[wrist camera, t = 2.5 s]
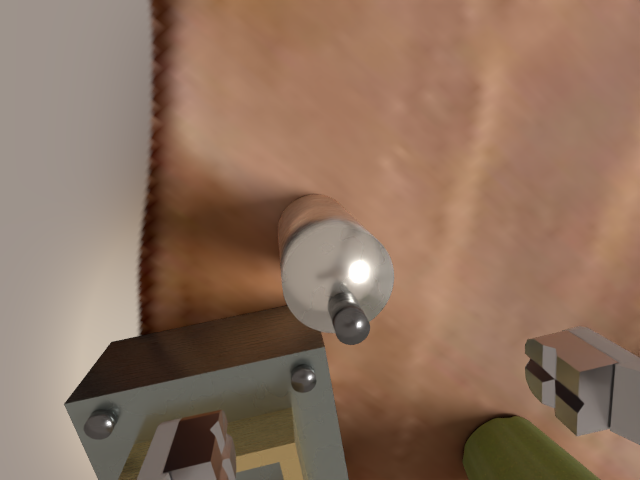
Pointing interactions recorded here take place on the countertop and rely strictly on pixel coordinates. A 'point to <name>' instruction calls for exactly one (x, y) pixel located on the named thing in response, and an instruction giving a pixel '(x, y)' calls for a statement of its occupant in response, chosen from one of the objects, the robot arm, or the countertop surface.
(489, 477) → the plant pot
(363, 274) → the spout can
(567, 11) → the countertop surface
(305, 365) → the grey square housing block
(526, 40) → the countertop surface
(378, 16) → the countertop surface
